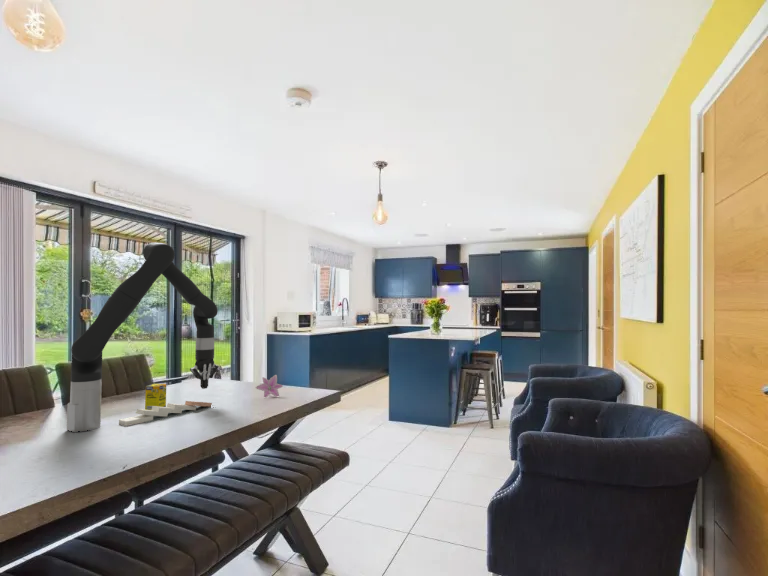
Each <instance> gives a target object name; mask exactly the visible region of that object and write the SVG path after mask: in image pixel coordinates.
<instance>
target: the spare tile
mask: <svg viewBox="0 0 768 576" xmlns="http://www.w3.org/2000/svg"><path fill="white" fill-rule="evenodd" d="M212 403H213V402H206V401H195V400H194V401H193V400H192V401H190V400H185V403H184V405H191V406H208V407H211V405H212ZM212 406H213V405H212Z"/></svg>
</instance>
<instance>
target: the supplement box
mask: <svg viewBox="0 0 768 576" xmlns="http://www.w3.org/2000/svg"><path fill="white" fill-rule="evenodd" d="M144 396H145V397H144V399H145V401H144V402H145V403H144V410H151V409H152V406H158V407H167V383H152V384H149V385H145V395H144Z"/></svg>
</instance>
